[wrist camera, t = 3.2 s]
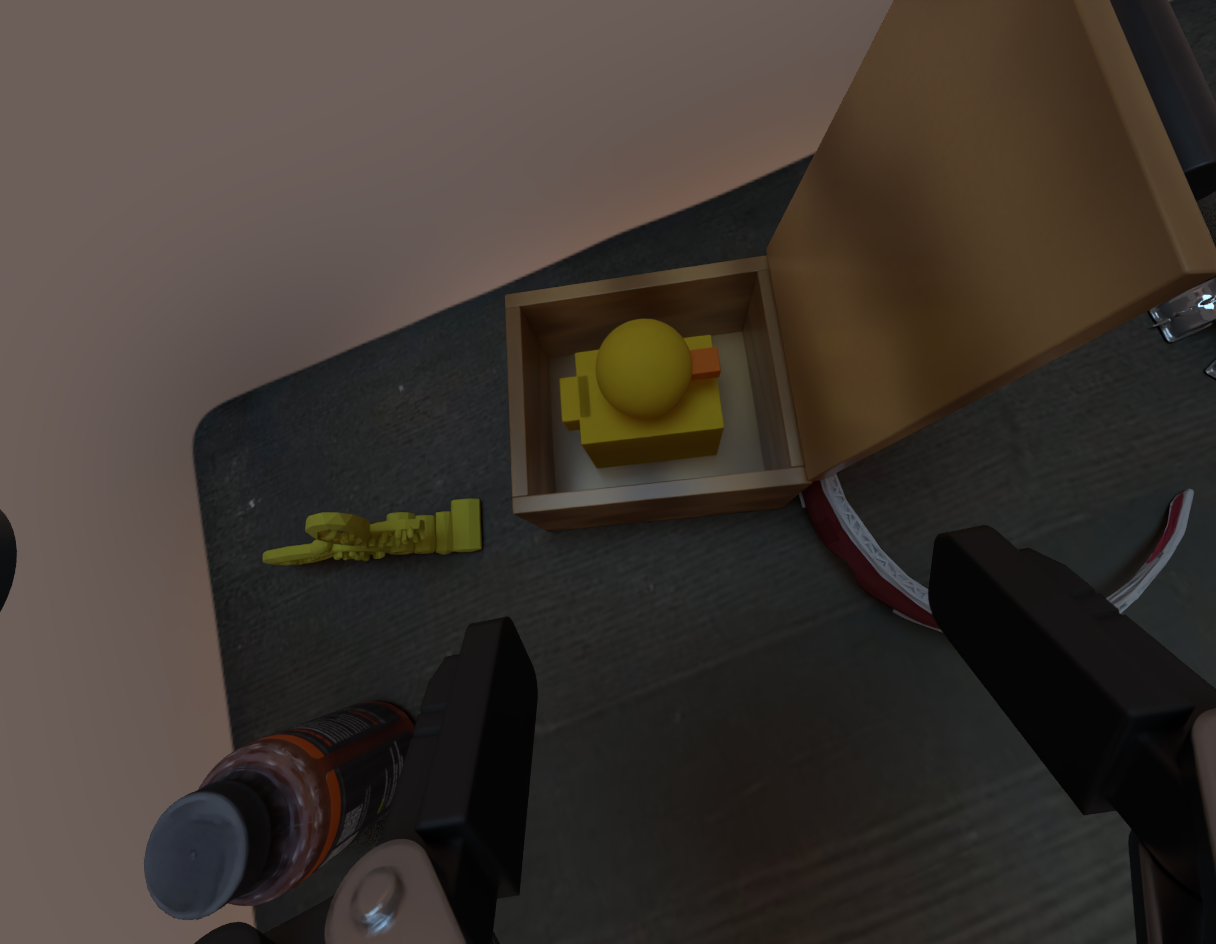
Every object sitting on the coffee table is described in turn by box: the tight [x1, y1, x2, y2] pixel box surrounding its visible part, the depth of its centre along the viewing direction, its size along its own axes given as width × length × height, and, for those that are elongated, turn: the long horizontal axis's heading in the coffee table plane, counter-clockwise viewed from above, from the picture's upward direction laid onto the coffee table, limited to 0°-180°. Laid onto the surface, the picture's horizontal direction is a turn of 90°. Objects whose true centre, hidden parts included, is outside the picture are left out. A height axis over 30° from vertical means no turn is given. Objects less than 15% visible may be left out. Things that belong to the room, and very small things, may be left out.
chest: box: [505, 255, 812, 531], centre depth 28 cm, size 14×12×7 cm
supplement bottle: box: [144, 701, 415, 920], centre depth 23 cm, size 6×6×11 cm
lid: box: [766, 0, 1216, 481], centre depth 17 cm, size 14×12×4 cm
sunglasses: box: [799, 473, 1194, 633], centre depth 27 cm, size 17×17×5 cm
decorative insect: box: [263, 499, 482, 566], centre depth 29 cm, size 13×3×10 cm
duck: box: [559, 319, 724, 468], centre depth 26 cm, size 8×5×10 cm, turn 95°
